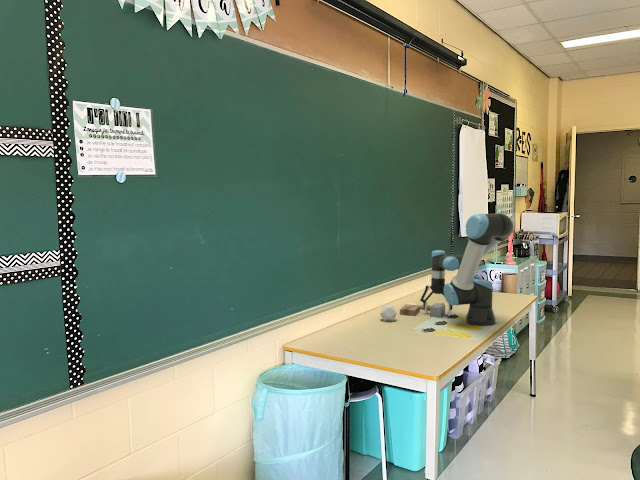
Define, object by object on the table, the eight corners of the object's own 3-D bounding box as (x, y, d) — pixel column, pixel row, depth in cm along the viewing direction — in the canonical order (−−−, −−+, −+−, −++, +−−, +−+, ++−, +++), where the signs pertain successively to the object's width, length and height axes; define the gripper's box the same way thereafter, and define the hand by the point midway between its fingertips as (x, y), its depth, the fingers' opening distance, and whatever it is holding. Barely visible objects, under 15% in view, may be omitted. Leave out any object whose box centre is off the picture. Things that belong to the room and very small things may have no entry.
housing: (445, 313, 290) (445, 303, 289) (440, 317, 281) (440, 306, 280) (434, 312, 293) (435, 302, 292) (430, 316, 284) (430, 305, 283)
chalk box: (419, 309, 302) (419, 304, 301) (416, 310, 299) (416, 305, 298) (407, 308, 306) (407, 302, 306) (404, 309, 303) (404, 303, 303)
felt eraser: (441, 311, 297) (441, 307, 297) (438, 312, 294) (438, 308, 294) (423, 308, 305) (423, 304, 304) (419, 309, 302) (419, 305, 301)
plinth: (419, 310, 297) (419, 305, 297) (415, 315, 285) (415, 310, 285) (404, 309, 300) (404, 304, 300) (399, 314, 288) (399, 309, 288)
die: (392, 324, 270) (401, 308, 272) (377, 315, 271) (386, 300, 273) (390, 326, 278) (398, 310, 280) (376, 317, 279) (384, 302, 281)
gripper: (461, 277, 284) (460, 314, 286) (417, 275, 293) (417, 311, 295) (459, 279, 277) (459, 317, 279) (415, 277, 286) (414, 314, 288)
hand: (437, 314), depth 287 cm, fingers open, 12 cm apart
